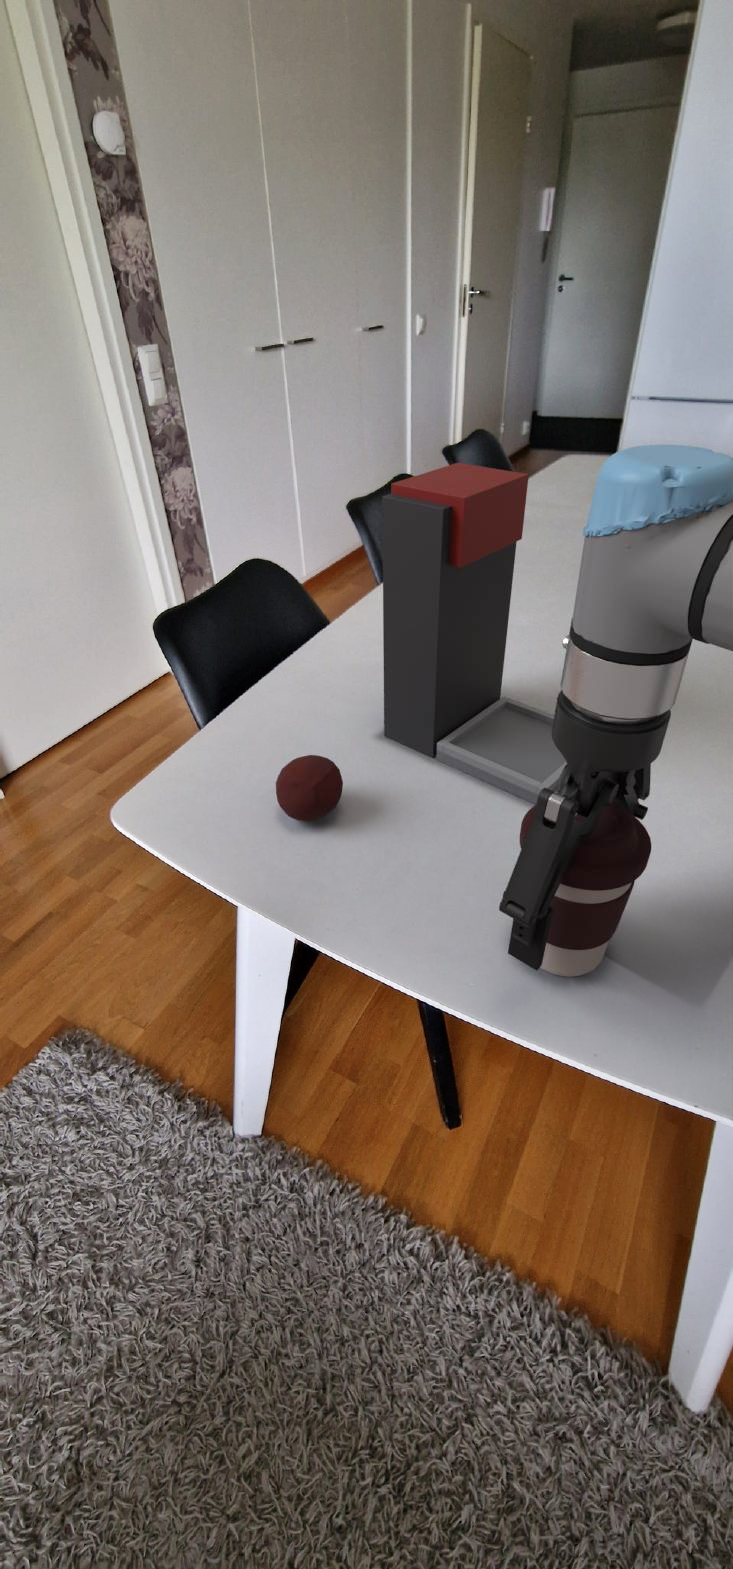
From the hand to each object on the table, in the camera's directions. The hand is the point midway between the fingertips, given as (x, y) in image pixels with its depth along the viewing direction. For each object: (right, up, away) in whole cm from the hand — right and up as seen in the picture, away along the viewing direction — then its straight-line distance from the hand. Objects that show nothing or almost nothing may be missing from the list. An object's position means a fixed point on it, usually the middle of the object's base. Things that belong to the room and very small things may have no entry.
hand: (566, 912), depth 61 cm
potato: (-24, +8, +19) cm, 31 cm away
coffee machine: (-1, +16, +29) cm, 34 cm away
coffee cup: (0, -4, +3) cm, 5 cm away
